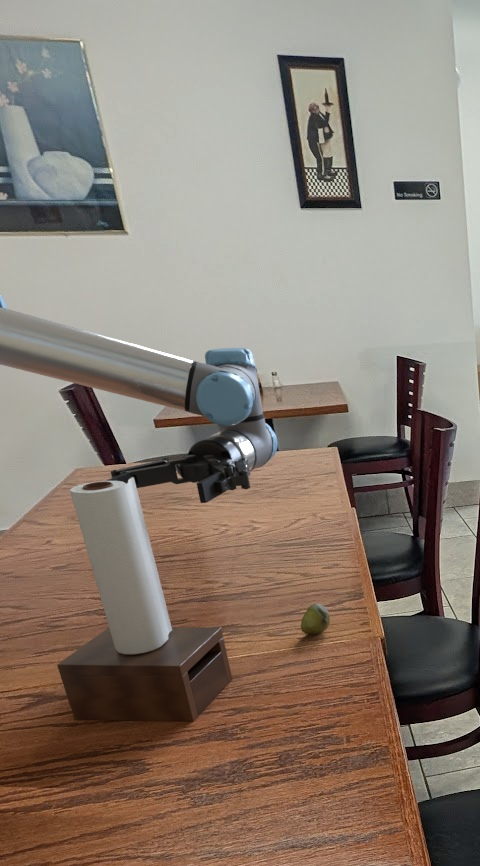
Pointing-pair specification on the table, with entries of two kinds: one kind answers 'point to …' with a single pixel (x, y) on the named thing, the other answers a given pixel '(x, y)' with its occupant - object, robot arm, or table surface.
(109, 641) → the drawer box
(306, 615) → the lime
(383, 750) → the table surface
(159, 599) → the paper towel roll
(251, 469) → the robot arm
